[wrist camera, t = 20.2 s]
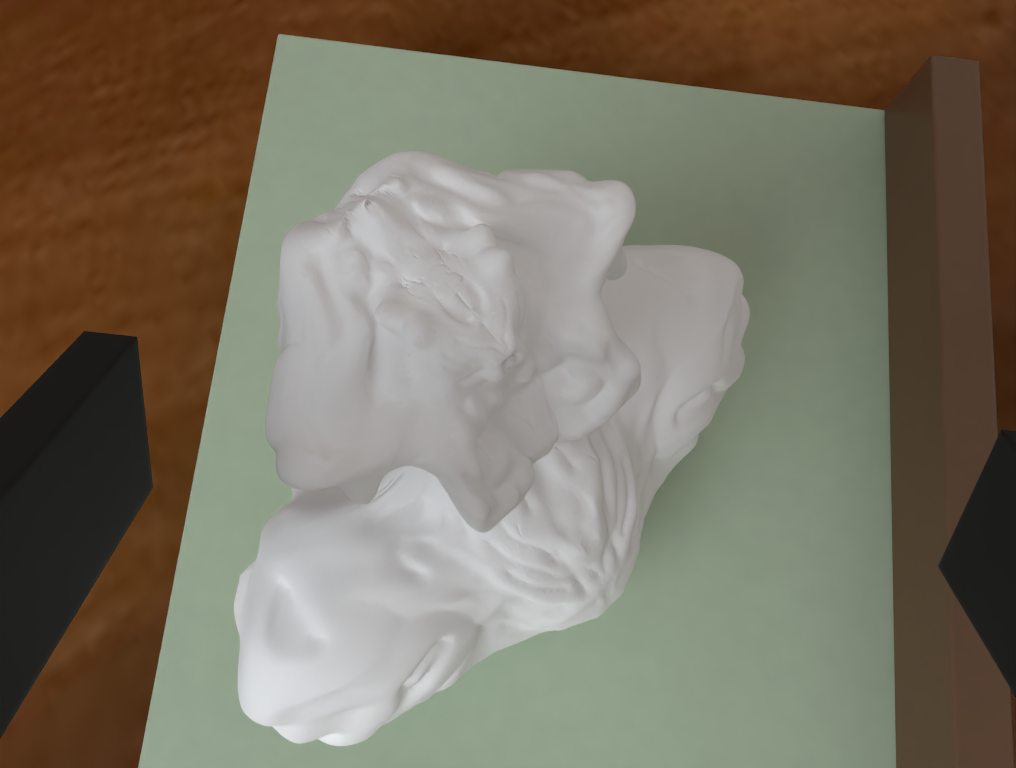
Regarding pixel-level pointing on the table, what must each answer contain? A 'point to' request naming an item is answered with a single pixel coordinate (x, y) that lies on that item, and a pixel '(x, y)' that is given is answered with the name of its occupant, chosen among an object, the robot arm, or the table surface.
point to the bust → (465, 429)
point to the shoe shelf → (706, 468)
